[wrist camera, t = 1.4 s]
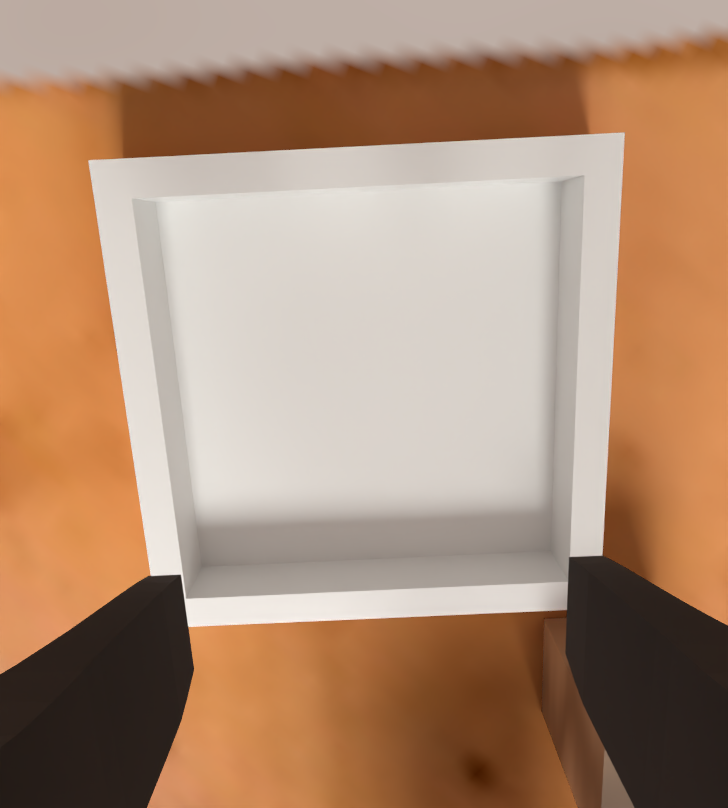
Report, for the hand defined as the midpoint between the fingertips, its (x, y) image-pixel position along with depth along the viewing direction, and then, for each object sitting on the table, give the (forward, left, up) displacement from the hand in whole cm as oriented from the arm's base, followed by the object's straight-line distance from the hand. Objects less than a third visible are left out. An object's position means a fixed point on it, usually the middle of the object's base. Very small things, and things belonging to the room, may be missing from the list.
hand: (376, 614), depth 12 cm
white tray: (+2, 0, -10) cm, 10 cm away
